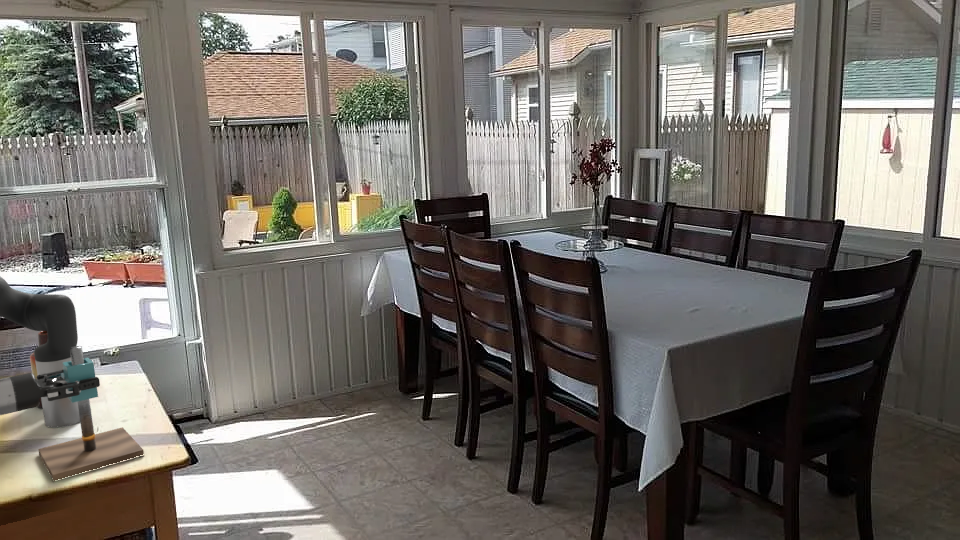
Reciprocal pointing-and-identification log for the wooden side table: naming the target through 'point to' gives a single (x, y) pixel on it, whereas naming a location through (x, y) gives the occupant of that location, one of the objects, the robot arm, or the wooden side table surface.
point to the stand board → (89, 453)
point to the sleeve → (80, 378)
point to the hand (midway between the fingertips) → (94, 376)
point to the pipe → (84, 407)
